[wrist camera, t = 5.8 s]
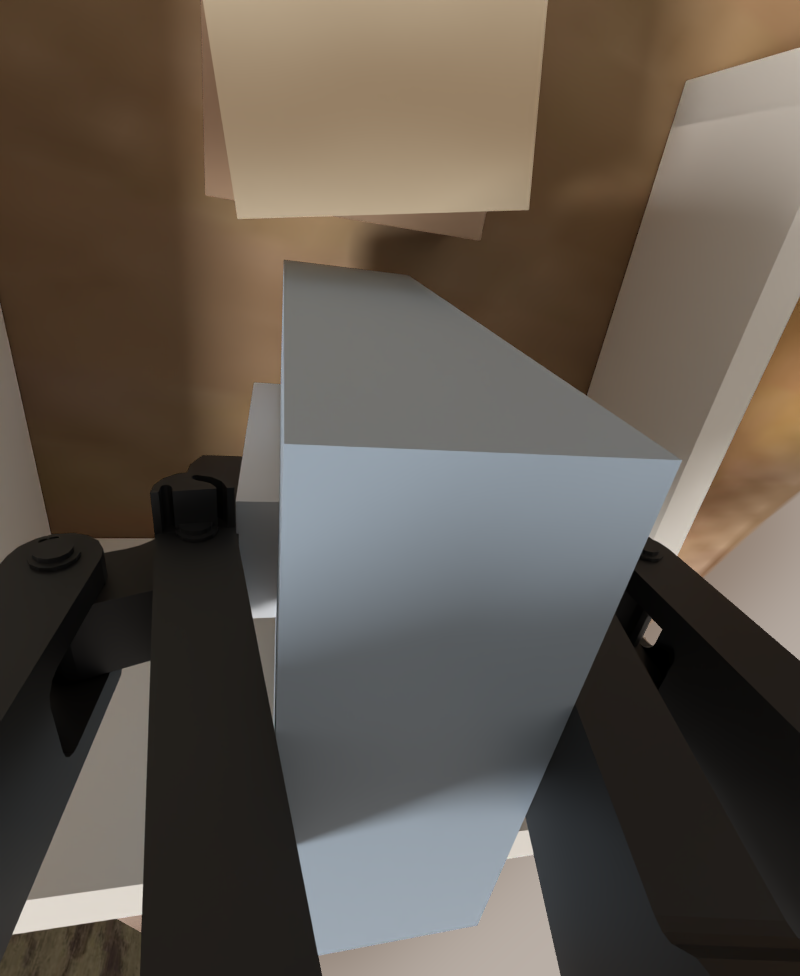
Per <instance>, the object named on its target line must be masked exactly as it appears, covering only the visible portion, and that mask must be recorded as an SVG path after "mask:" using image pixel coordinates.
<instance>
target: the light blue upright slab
mask: <svg viewBox="0 0 800 976" xmlns="http://www.w3.org/2000/svg"><path fill="white" fill-rule="evenodd" d="M681 462H682V460H681V459H679V458H678V457H676V456H675V455H674V454H672V453H671V452H669V451H668V450H666V449H665V448H663V447H662V446H660V445H659V444H657V443H656V442H654V441H653V440H651V439H650V438H648V437H647V436H645V435H644V434H642V433H641V432H639V431H638V430H637V429H635V428H634V427H632V426H631V425H629V424H628V423H626V422H625V421H623V420H622V419H620V418H619V417H617V416H616V415H614V414H613V413H611V412H610V411H608V410H607V409H605V408H604V407H602V406H601V405H600V404H598V403H597V402H595V401H594V400H592V399H591V398H589V397H588V396H586V395H585V394H583V393H582V392H580V391H579V390H577V389H576V388H574V387H573V386H571V385H570V384H568V383H567V382H565V381H564V380H563V379H561V378H560V377H558V376H557V375H555V374H554V373H552V372H551V371H549V370H548V369H546V368H545V367H543V366H542V365H540V364H539V363H537V362H536V361H534V360H533V359H531V358H530V357H528V356H527V355H526V354H524V353H523V352H521V351H520V350H518V349H517V348H515V347H514V346H512V345H511V344H509V343H508V342H506V341H505V340H503V339H502V338H500V337H499V336H497V335H496V334H494V333H493V332H491V331H490V330H488V329H487V328H486V327H484V326H483V325H481V324H480V323H478V322H477V321H475V320H474V319H472V318H471V317H469V316H468V315H466V314H465V313H463V312H462V311H460V310H459V309H457V308H456V307H454V306H453V305H451V304H450V303H449V302H447V301H446V300H444V299H443V298H441V297H440V296H438V295H437V294H435V293H434V292H432V291H431V290H429V289H428V288H426V287H425V286H423V285H422V284H420V283H419V282H417V281H416V280H414V279H413V278H412V277H410V276H409V275H403V274H395V273H387V272H379V271H371V270H363V269H354V268H346V267H338V266H330V265H322V264H314V263H306V262H298V261H290V260H284V271H283V312H282V353H281V410H280V480H279V529H278V568H277V607H276V619H275V672H274V724H273V725H274V730H275V735H276V741H277V746H278V751H279V756H280V761H281V766H282V771H283V777H284V782H285V787H286V792H287V797H288V802H289V808H290V813H291V818H292V823H293V828H294V833H295V839H296V844H297V849H298V854H299V859H300V864H301V870H302V875H303V880H304V885H305V890H306V895H307V901H308V906H309V911H310V916H311V921H312V926H313V932H314V937H315V942H316V947H317V952H318V956H319V955H324V954H329V953H334V952H340V951H345V950H350V949H355V948H361V947H366V946H371V945H376V944H382V943H387V942H393V941H398V940H403V939H408V938H414V937H419V936H424V935H429V934H435V933H440V932H445V931H450V930H456V929H461V928H465V927H466V928H467V927H472V926H477V925H478V923H479V920H480V918H481V916H482V913H483V911H484V909H485V907H486V904H487V902H488V900H489V898H490V895H491V893H492V891H493V888H494V886H495V884H496V882H497V880H498V877H499V875H500V873H501V870H502V868H503V866H504V864H505V861H506V859H507V857H508V855H509V852H510V850H511V848H512V845H513V843H514V841H515V839H516V836H517V834H518V832H519V830H520V827H521V825H522V823H523V821H524V818H525V816H526V814H527V811H528V809H529V807H530V805H531V802H532V800H533V798H534V796H535V793H536V791H537V789H538V786H539V784H540V782H541V780H542V777H543V775H544V773H545V771H546V768H547V766H548V764H549V761H550V759H551V757H552V755H553V752H554V750H555V748H556V746H557V743H558V741H559V739H560V737H561V734H562V732H563V730H564V727H565V725H566V723H567V721H568V718H569V716H570V714H571V712H572V709H573V707H574V705H575V702H576V700H577V698H578V696H579V693H580V691H581V689H582V687H583V684H584V682H585V680H586V678H587V675H588V673H589V671H590V668H591V666H592V664H593V662H594V659H595V657H596V655H597V653H598V650H599V648H600V646H601V643H602V641H603V639H604V637H605V634H606V632H607V630H608V628H609V625H610V623H611V621H612V618H613V616H614V614H615V612H616V609H617V607H618V605H619V603H620V600H621V598H622V596H623V594H624V591H625V589H626V587H627V584H628V582H629V580H630V578H631V575H632V573H633V571H634V569H635V566H636V564H637V562H638V559H639V557H640V555H641V553H642V550H643V548H644V546H645V544H646V541H647V539H648V537H649V535H650V532H651V530H652V528H653V525H654V523H655V521H656V519H657V516H658V514H659V512H660V510H661V507H662V505H663V503H664V500H665V498H666V496H667V494H668V491H669V489H670V487H671V485H672V482H673V480H674V478H675V475H676V473H677V471H678V469H679V466H680V464H681Z"/></svg>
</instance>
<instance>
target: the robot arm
mask: <svg viewBox="0 0 800 976" xmlns="http://www.w3.org/2000/svg"><path fill="white" fill-rule="evenodd" d="M280 410H281V384H269V383H255V382H254V386H253V392H252V398H251V405H250V411H249V418H248V424H247V431H246V437H245V444H244V450H243V457H240V456H212V455H202V456H201V457H200V458H198V459H197V460H196V461H194V462H193V463H192V464H190V466H189V469H188V472H187V473H180V474H175V475H172V476H169V477H166V478H163V479H162V480H160V481H159V482H157V483H156V484H154V486H153V488H152V490H151V492H150V496H151V505H152V514H153V523H154V532H155V539H153V540H152V541H149V542H147V543H144V544H142V545H139V546H135V547H131V548H127V549H122V550H117V551H111V552H106V553H104V550H103V547H102V546H101V544H100V542H99V541H98V540H96V539H94V538H92V537H90V536H88V535H83V534H76V533H64V534H52V535H48V536H43V537H40V538H36V539H34V540H31V541H29V542H27V543H25V544H23V545H20V546H19V547H17V548H16V549H15V550H14V551H12V552H11V553H10V554H8V555H7V556H6V557H5V559H4V560H3V561H2V562H1V563H0V962H1V960H2V958H3V955H4V953H5V951H6V948H7V946H8V943H9V941H10V939H11V936H12V934H13V931H14V929H15V927H16V924H17V922H18V920H19V917H20V915H21V912H22V910H23V908H24V905H25V903H26V900H27V898H28V896H29V893H30V891H31V889H32V886H33V884H34V881H35V879H36V877H37V874H38V872H39V870H40V867H41V865H42V862H43V860H44V858H45V855H46V853H47V850H48V848H49V846H50V843H51V841H52V839H53V836H54V834H55V831H56V829H57V827H58V824H59V822H60V820H61V817H62V815H63V812H64V810H65V808H66V805H67V803H68V800H69V798H70V796H71V793H72V791H73V789H74V786H75V784H76V781H77V779H78V777H79V774H80V772H81V770H82V767H83V765H84V762H85V760H86V758H87V755H88V753H89V750H90V748H91V746H92V743H93V741H94V739H95V736H96V734H97V731H98V729H99V727H100V724H101V722H102V719H103V717H104V715H105V712H106V710H107V708H108V705H109V703H110V700H111V698H112V696H113V693H114V691H115V689H116V686H117V684H118V681H119V679H120V677H121V673H122V669H123V668H127V667H130V666H134V665H137V664H140V663H144V662H147V661H150V689H149V719H148V749H147V779H146V809H145V838H144V868H143V898H142V928H141V958H140V976H322V973H321V968H320V963H319V958H318V952H317V947H316V942H315V937H314V932H313V926H312V921H311V916H310V911H309V906H308V901H307V895H306V890H305V885H304V880H303V875H302V870H301V864H300V859H299V854H298V849H297V844H296V839H295V833H294V828H293V823H292V818H291V813H290V808H289V802H288V797H287V792H286V787H285V782H284V777H283V771H282V766H281V761H280V756H279V751H278V746H277V741H276V735H275V730H274V725H273V720H272V715H271V710H270V704H269V699H268V694H267V689H266V684H265V679H264V673H263V668H262V663H261V658H260V653H259V648H258V642H257V637H256V632H255V627H254V622H253V618H273V617H276V607H277V568H278V529H279V480H280ZM651 619H653V620H654V621H655V622H656V623H657V624H658V625H659V626H660V627H661V628H662V631H661V633H660V636H659V637H658V639H657V641H656V643H655V644H654V646H652V645H650V644H649V643H648V642H647V641H646V640H645V639H644V638H643V635H644V633H645V631H646V629H647V627H648V625H649V623H650V621H651ZM525 818H526V822H527V827H528V831H529V836H530V840H531V845H532V849H533V854H534V858H535V862H536V867H537V871H538V876H539V880H540V885H541V889H542V894H543V898H544V903H545V907H546V912H547V916H548V921H549V925H550V930H551V934H552V938H553V943H554V947H555V952H556V956H557V961H558V965H559V970H560V974H561V976H800V661H799V660H798V659H797V658H796V657H795V656H794V655H792V654H791V653H790V652H789V651H788V650H786V649H785V648H784V647H783V646H782V645H780V644H779V643H778V642H777V641H776V640H775V639H774V638H772V637H771V636H770V635H769V634H768V633H767V632H765V631H764V630H763V629H762V628H761V627H760V626H758V625H757V624H756V623H755V622H754V621H752V620H751V619H750V618H749V617H748V616H747V615H745V614H744V613H743V612H742V611H741V610H740V609H739V608H737V607H736V606H735V605H734V604H733V603H732V602H730V601H729V600H728V599H727V598H726V597H724V596H723V595H722V594H721V593H720V592H718V590H716V589H715V588H714V587H713V586H712V585H710V584H709V583H708V582H707V581H706V580H705V579H703V578H702V577H701V576H700V575H699V574H698V573H696V572H695V571H694V570H693V569H692V568H691V567H689V566H688V565H687V564H686V563H685V562H684V561H682V560H681V559H680V558H679V557H678V556H677V555H675V554H674V553H673V552H672V551H671V550H670V549H668V548H667V547H665V546H664V545H662V544H661V543H659V542H657V541H655V540H653V539H651V538H650V537H648V539H647V541H646V544H645V546H644V548H643V550H642V553H641V555H640V557H639V559H638V562H637V564H636V566H635V569H634V571H633V573H632V575H631V578H630V580H629V582H628V584H627V587H626V589H625V591H624V594H623V596H622V598H621V600H620V603H619V605H618V607H617V609H616V612H615V614H614V616H613V618H612V621H611V623H610V625H609V628H608V630H607V632H606V634H605V637H604V639H603V641H602V643H601V646H600V648H599V650H598V653H597V655H596V657H595V659H594V662H593V664H592V666H591V668H590V671H589V673H588V675H587V678H586V680H585V682H584V684H583V687H582V689H581V691H580V693H579V696H578V698H577V700H576V702H575V705H574V707H573V709H572V712H571V714H570V716H569V718H568V721H567V723H566V725H565V727H564V730H563V732H562V734H561V737H560V739H559V741H558V743H557V746H556V748H555V750H554V752H553V755H552V757H551V759H550V761H549V764H548V766H547V768H546V771H545V773H544V775H543V777H542V780H541V782H540V784H539V786H538V789H537V791H536V793H535V796H534V798H533V800H532V802H531V805H530V807H529V809H528V811H527V814H526V816H525Z"/></svg>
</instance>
